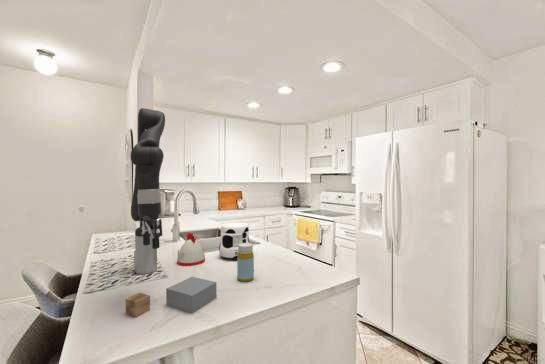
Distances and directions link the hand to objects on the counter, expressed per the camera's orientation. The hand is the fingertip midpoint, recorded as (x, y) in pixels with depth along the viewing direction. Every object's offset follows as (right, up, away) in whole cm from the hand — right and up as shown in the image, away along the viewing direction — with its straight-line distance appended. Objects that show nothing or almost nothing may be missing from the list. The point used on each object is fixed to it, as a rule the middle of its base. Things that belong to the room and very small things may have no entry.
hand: (151, 246), depth 91 cm
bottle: (+32, -19, +18) cm, 42 cm away
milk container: (+23, -19, +50) cm, 58 cm away
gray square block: (+15, -19, -1) cm, 25 cm away
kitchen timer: (+1, -19, +42) cm, 46 cm away
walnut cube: (0, -19, -9) cm, 21 cm away
